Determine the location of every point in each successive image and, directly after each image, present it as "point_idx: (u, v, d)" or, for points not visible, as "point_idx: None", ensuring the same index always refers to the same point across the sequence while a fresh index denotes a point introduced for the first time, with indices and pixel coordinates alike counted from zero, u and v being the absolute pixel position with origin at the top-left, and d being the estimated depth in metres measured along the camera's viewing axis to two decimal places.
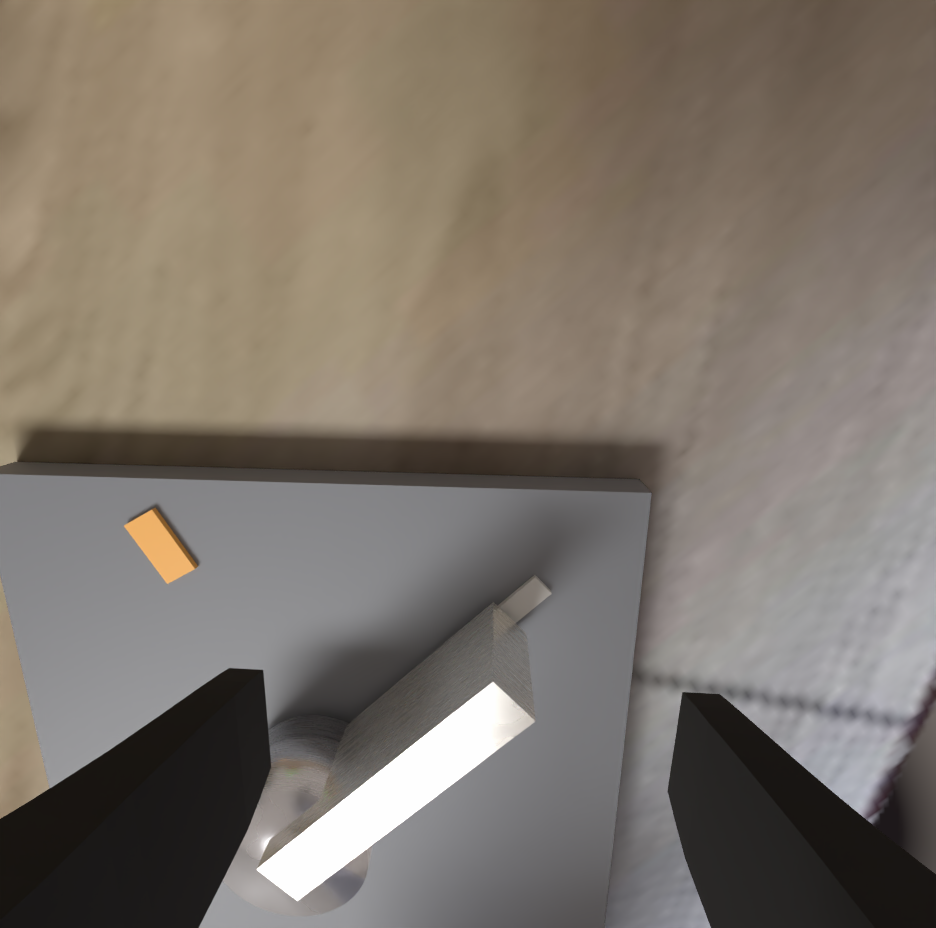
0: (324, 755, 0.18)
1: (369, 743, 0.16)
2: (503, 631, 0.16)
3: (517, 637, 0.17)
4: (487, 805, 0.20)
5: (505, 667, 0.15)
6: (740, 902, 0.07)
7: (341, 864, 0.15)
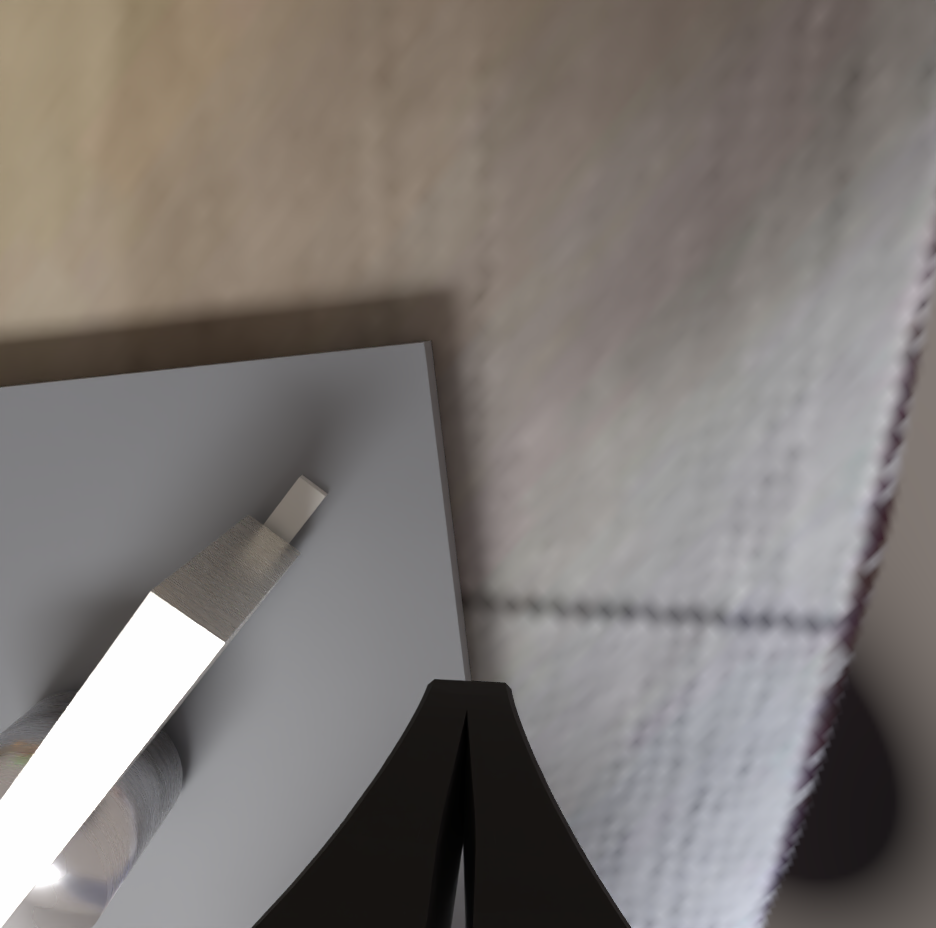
0: None
1: None
2: (242, 544, 0.12)
3: (273, 553, 0.13)
4: (317, 785, 0.16)
5: (205, 579, 0.11)
6: (468, 884, 0.07)
7: (37, 874, 0.11)
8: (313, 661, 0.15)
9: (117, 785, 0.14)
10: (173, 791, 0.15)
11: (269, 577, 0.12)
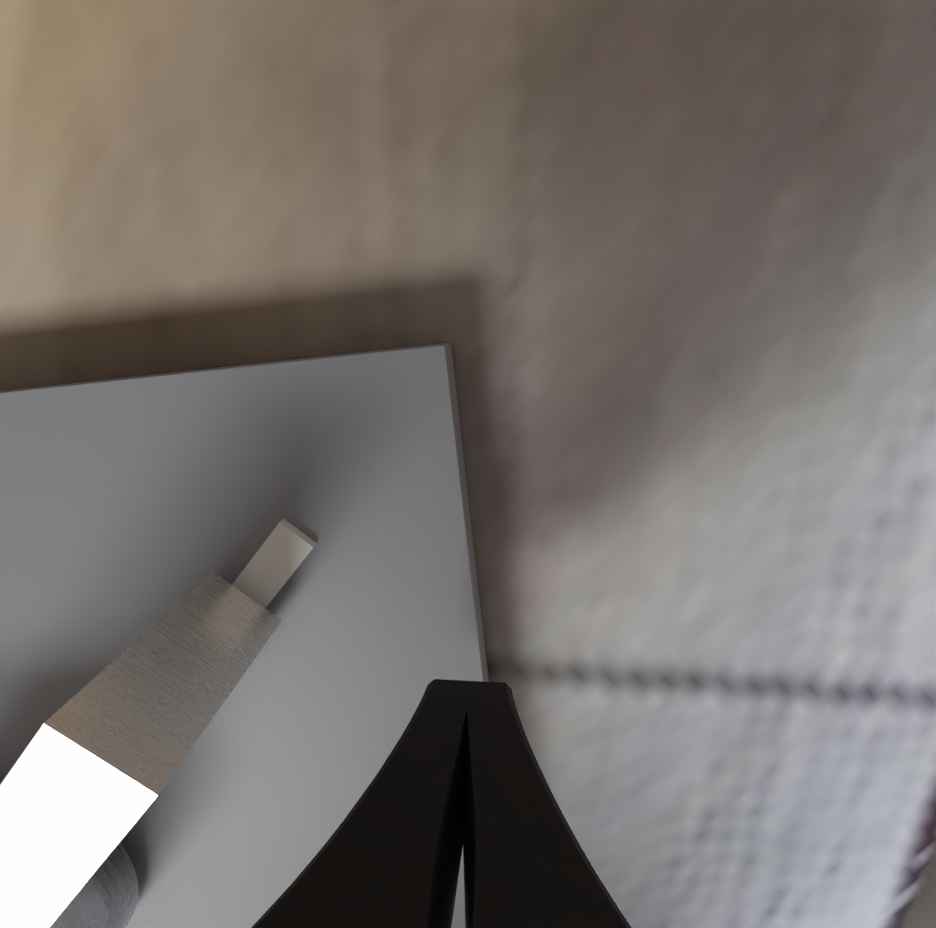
0: None
1: None
2: (200, 618, 0.09)
3: (243, 626, 0.10)
4: None
5: (137, 686, 0.08)
6: (468, 884, 0.07)
7: None
8: (300, 750, 0.12)
9: None
10: (125, 911, 0.12)
11: (235, 666, 0.09)
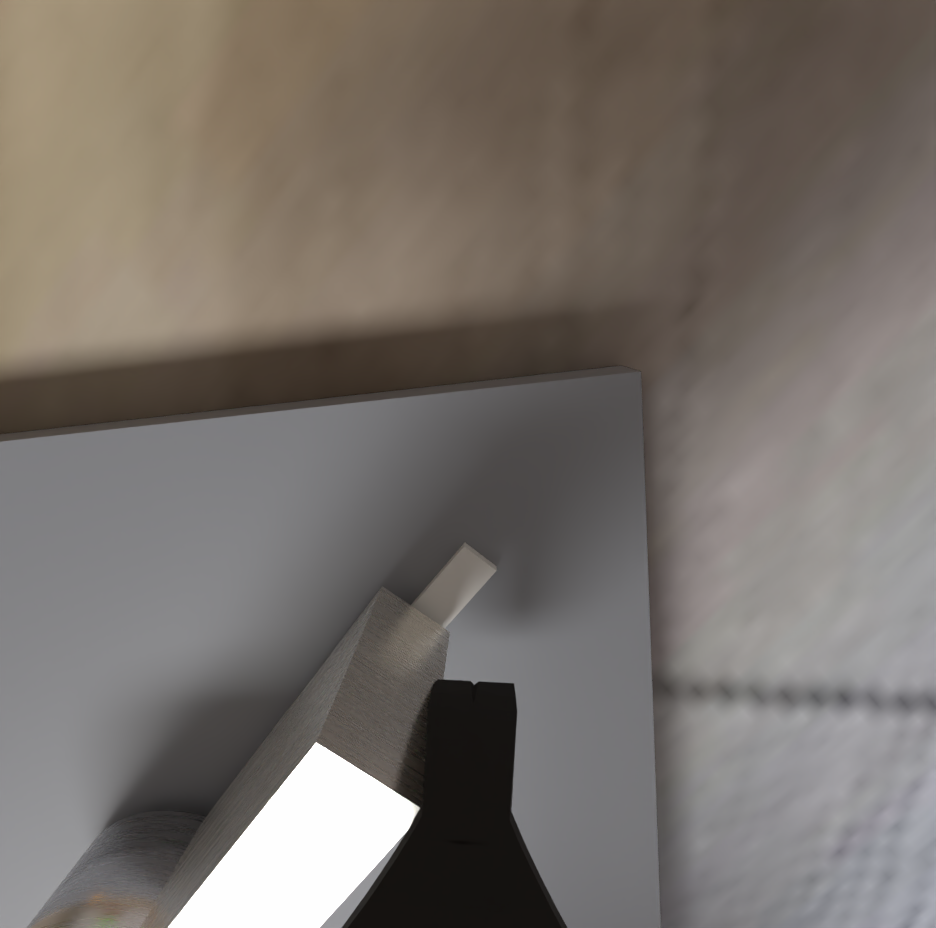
0: (143, 887, 0.10)
1: (188, 867, 0.09)
2: (390, 633, 0.09)
3: (424, 640, 0.10)
4: None
5: (370, 703, 0.08)
6: None
7: None
8: None
9: None
10: None
11: (433, 680, 0.09)
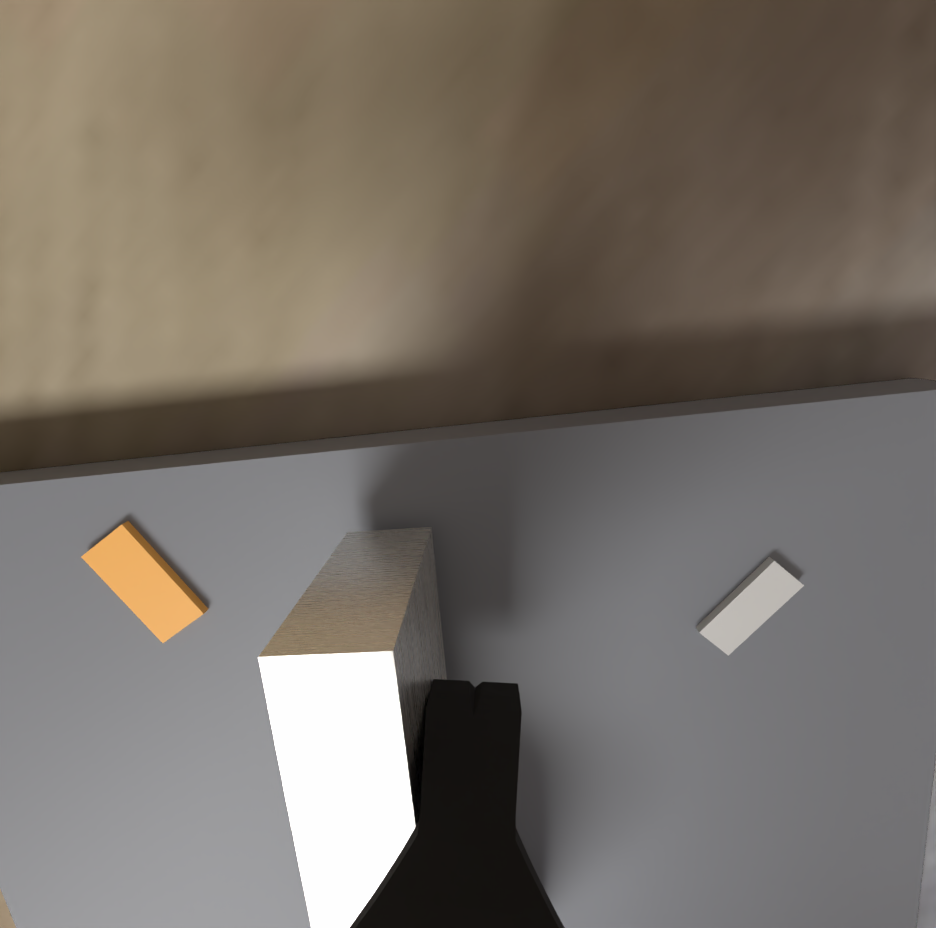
0: None
1: None
2: (355, 556, 0.09)
3: (398, 543, 0.09)
4: None
5: (327, 608, 0.07)
6: None
7: None
8: (732, 787, 0.12)
9: None
10: None
11: (409, 564, 0.09)
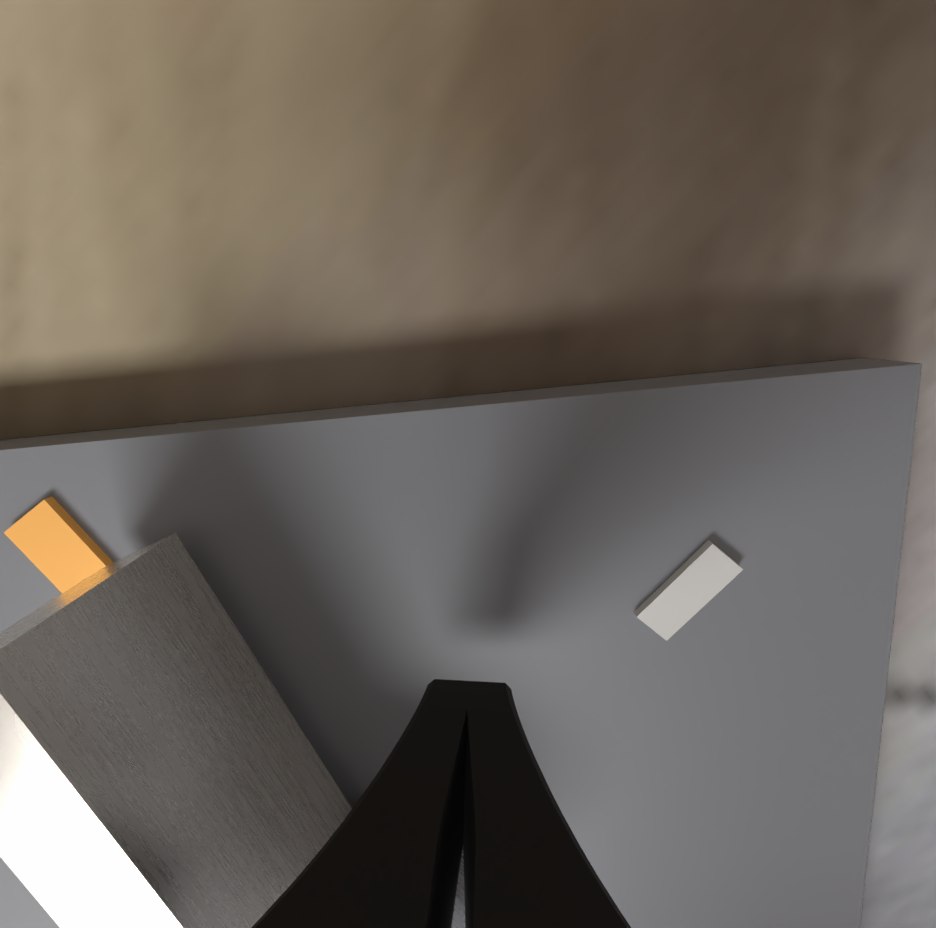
0: None
1: None
2: (79, 585, 0.09)
3: (128, 559, 0.09)
4: (646, 923, 0.13)
5: None
6: (468, 883, 0.07)
7: None
8: (673, 774, 0.12)
9: None
10: None
11: (108, 575, 0.09)
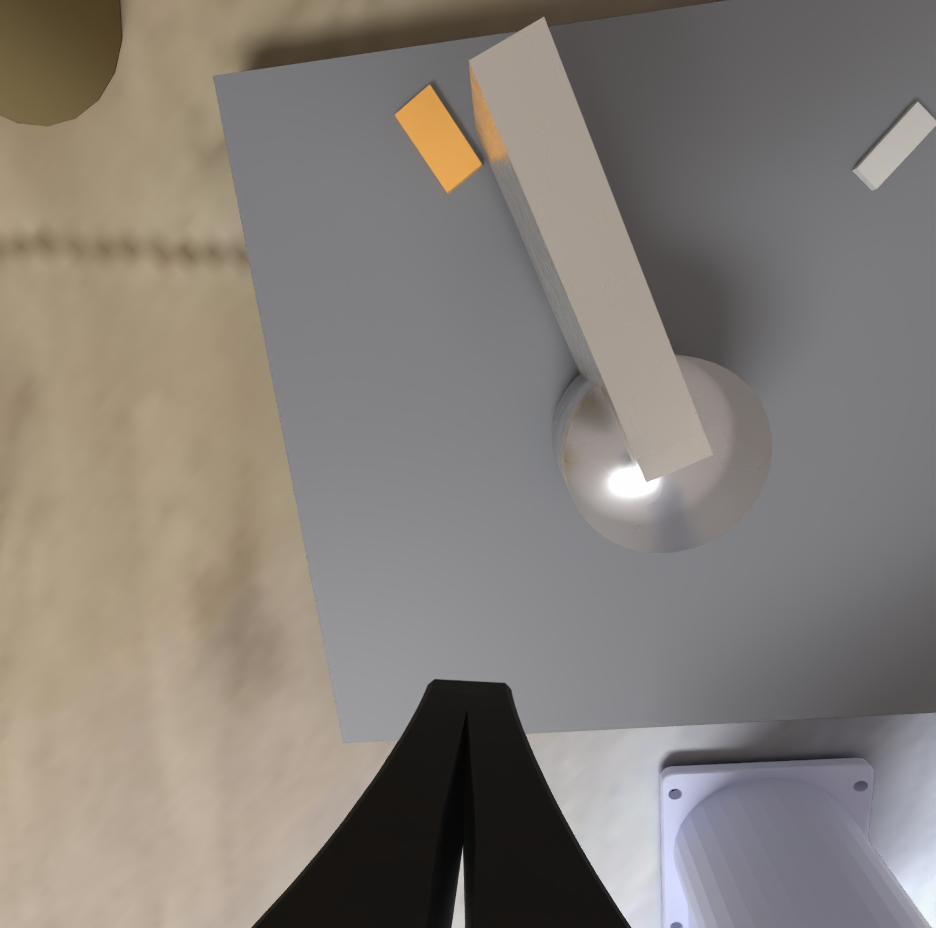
0: (580, 389, 0.14)
1: (563, 311, 0.13)
2: None
3: None
4: (835, 461, 0.17)
5: None
6: (468, 884, 0.07)
7: (677, 373, 0.12)
8: (868, 318, 0.16)
9: None
10: None
11: None
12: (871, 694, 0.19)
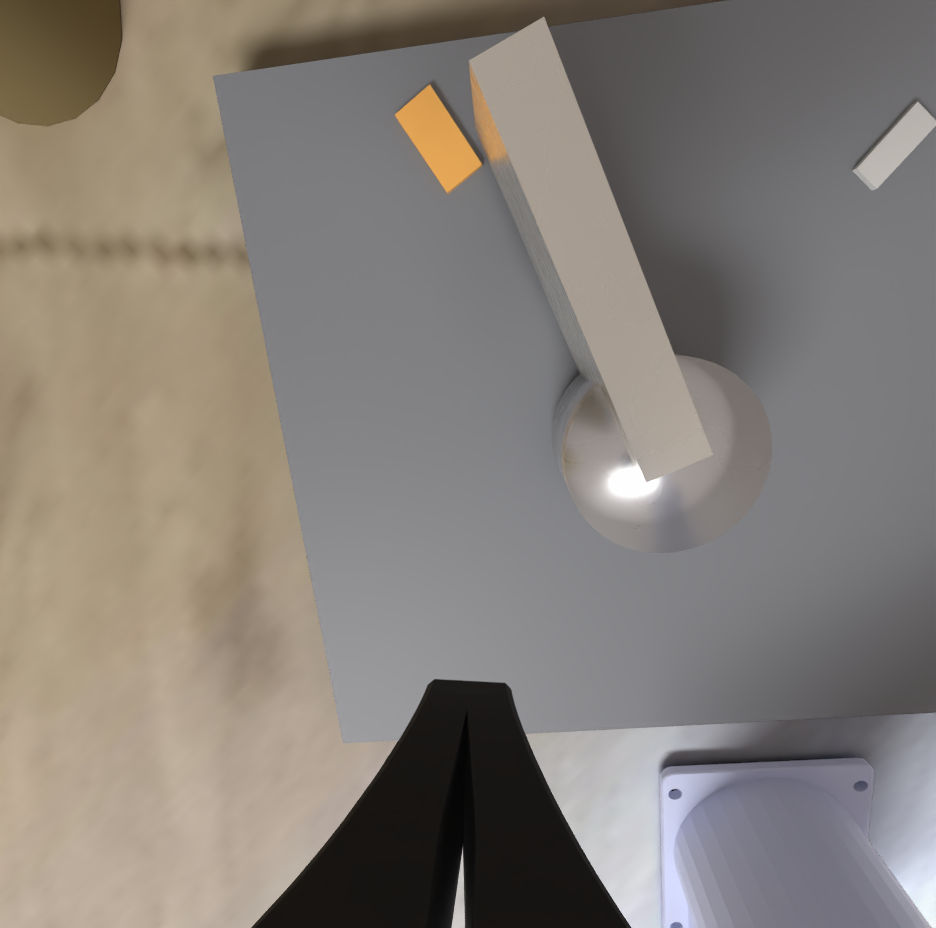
0: (580, 389, 0.14)
1: (563, 311, 0.13)
2: None
3: None
4: (835, 461, 0.17)
5: None
6: (468, 884, 0.07)
7: (677, 373, 0.12)
8: (868, 318, 0.16)
9: None
10: None
11: None
12: (871, 694, 0.19)
